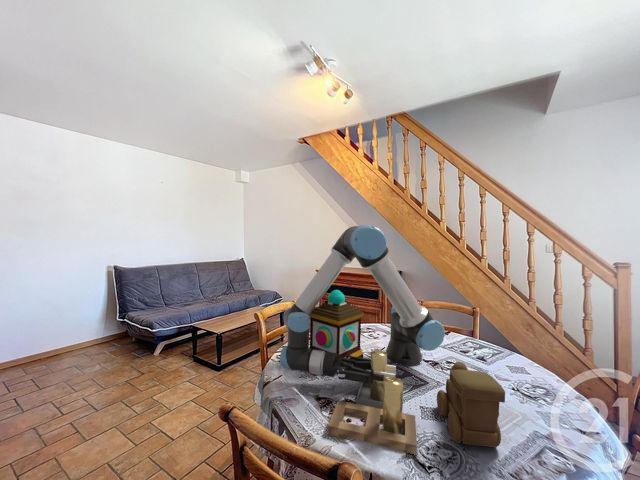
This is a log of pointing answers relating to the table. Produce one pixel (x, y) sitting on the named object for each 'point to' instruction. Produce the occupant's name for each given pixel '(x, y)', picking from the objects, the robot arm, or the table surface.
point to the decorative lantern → (336, 327)
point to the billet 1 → (378, 365)
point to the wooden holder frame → (372, 427)
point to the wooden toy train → (471, 406)
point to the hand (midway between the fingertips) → (395, 374)
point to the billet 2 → (392, 405)
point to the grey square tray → (367, 397)
